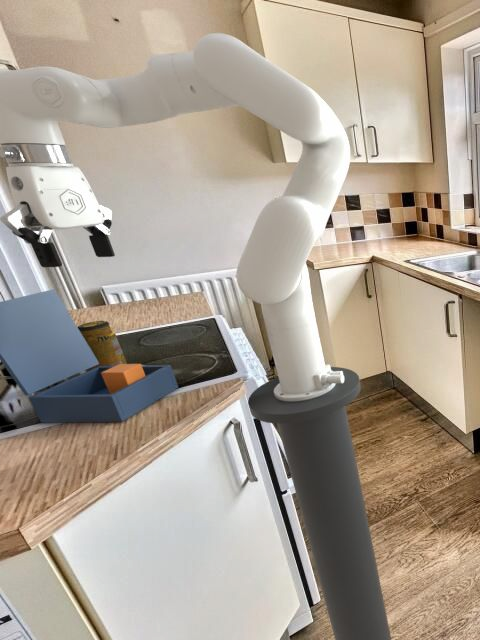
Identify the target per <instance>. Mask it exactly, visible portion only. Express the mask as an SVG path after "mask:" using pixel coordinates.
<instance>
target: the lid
mask: <svg viewBox="0 0 480 640" xmlns="http://www.w3.org/2000/svg"><path fill="white" fill-rule="evenodd" d="M77 327H78V326H77V324H76V323H75V321H74V319H73V318H72V316H71V314H70V313H69V311H68V310H67V308H66V306H65V305H64V303H63V301H62V300H61V298H60V297H59V295H58V293H57V292H56V289H55V288H53V289H48V290H44V291H41V292H35V293H32V294H27V295H23V296H19V297H15V298H10V299H6V300H1V301H0V362H1V364H2V365H3V367H4V368H5V369H6V370H7V372H8V373H9V375H10V376H11V377H12V379H13V381H14V382H15V383H16V385H17V386H18V388H19V389H20V390H21V392H22V393H23V395H24V396H29V395H32V394H34V393H36V392H40V391H41V390H43V389H45V388H47V387H51V386H52V385H56V384H57V383H59V382H61V381H62V382H63V381H65V380H66V379H69V378H72V377H74V376H75V375H77V374H78V375H79V373H83V372H85V371H88V370H90V369H91V367H93V366H96V365H98V364H99V362H98V360H97V359H96V357H95V355H94V354H93V352H92V350H91V349H90V347H89V346H88V344H87V342H86V341H85V339H84V337H83V336H82V334H81V332H80V331H79V329H78V328H77Z"/></svg>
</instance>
